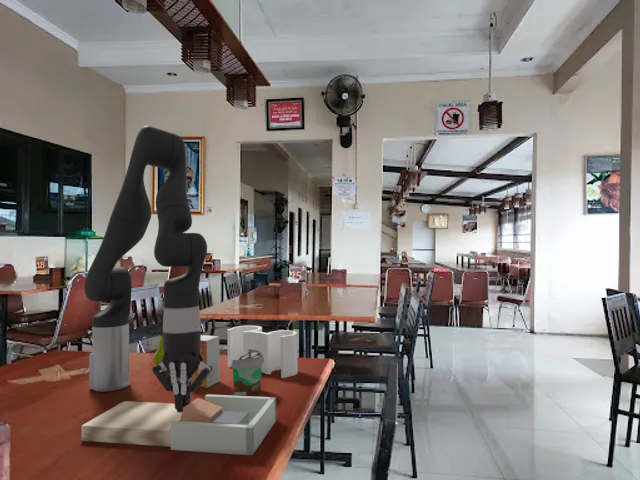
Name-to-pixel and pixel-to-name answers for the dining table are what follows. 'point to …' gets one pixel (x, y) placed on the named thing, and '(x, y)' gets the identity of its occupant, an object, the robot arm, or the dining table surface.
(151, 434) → the beige slab
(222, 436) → the tray
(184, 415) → the tile
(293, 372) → the bracket
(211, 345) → the small box
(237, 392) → the food container
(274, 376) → the dining table surface
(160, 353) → the fruit
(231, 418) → the tile
